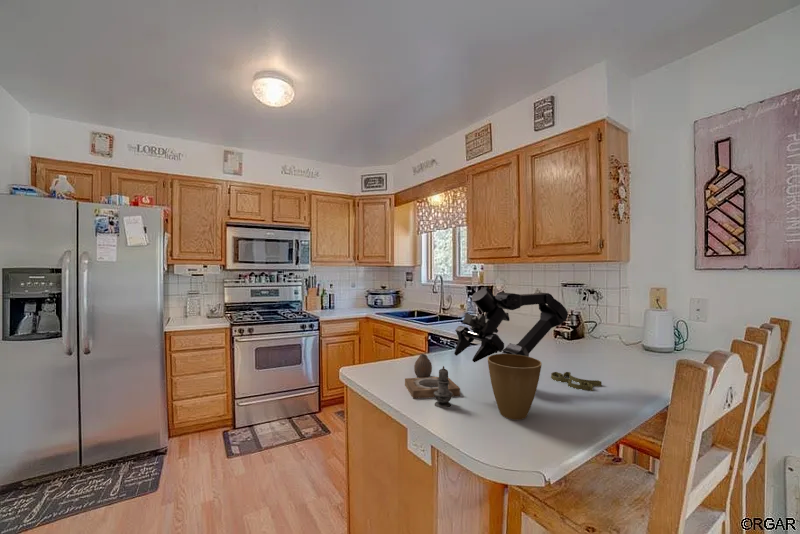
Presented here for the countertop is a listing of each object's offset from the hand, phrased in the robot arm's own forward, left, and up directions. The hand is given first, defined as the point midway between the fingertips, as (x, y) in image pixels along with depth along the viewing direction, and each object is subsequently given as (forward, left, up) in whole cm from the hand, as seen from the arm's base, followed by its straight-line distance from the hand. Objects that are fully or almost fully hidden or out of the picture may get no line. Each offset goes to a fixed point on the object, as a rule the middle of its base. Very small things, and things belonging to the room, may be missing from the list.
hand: (464, 357), depth 112 cm
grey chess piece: (+8, +2, -14) cm, 16 cm away
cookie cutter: (-48, -11, -14) cm, 52 cm away
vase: (+7, -26, -14) cm, 30 cm away
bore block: (+8, -11, -14) cm, 19 cm away
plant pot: (-10, +13, -14) cm, 22 cm away
